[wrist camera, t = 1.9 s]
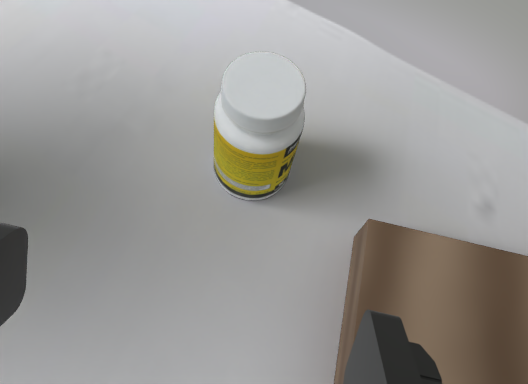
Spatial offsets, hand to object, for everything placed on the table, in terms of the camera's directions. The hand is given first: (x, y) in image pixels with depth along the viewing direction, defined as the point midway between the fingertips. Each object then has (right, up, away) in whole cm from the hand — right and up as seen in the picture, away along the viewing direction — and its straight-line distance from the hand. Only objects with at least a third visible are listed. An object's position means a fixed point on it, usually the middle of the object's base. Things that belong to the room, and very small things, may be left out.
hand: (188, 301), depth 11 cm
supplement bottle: (+1, +4, +19) cm, 19 cm away
